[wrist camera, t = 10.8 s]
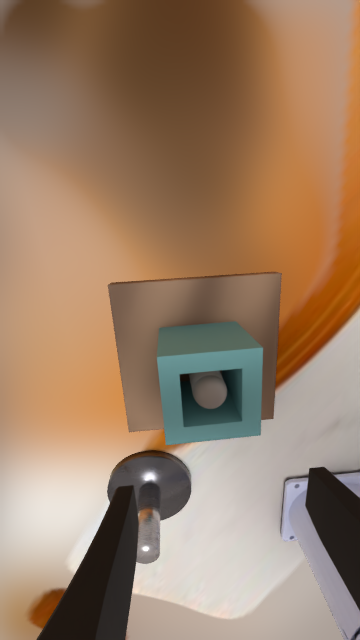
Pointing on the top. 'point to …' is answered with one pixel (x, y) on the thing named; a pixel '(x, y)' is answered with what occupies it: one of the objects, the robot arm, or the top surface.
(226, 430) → the teal collar
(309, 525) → the robot arm
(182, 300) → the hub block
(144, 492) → the round base with peg
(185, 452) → the top surface
